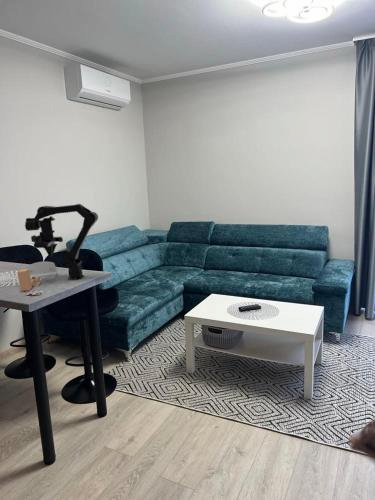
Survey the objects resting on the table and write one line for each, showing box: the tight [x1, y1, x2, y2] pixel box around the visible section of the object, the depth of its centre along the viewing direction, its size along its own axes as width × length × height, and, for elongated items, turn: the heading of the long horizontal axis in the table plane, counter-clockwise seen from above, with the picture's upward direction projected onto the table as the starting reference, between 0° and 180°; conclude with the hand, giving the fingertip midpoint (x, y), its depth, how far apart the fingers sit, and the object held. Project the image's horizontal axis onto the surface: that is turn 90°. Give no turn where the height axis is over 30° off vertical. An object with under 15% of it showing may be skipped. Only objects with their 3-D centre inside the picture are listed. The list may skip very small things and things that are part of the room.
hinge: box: [26, 261, 58, 280], centre depth 210 cm, size 17×5×10 cm, turn 109°
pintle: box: [32, 277, 41, 287], centre depth 195 cm, size 6×6×4 cm
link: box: [16, 268, 41, 292], centre depth 190 cm, size 14×5×10 cm, turn 0°
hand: (50, 257), depth 201 cm, fingers closed
